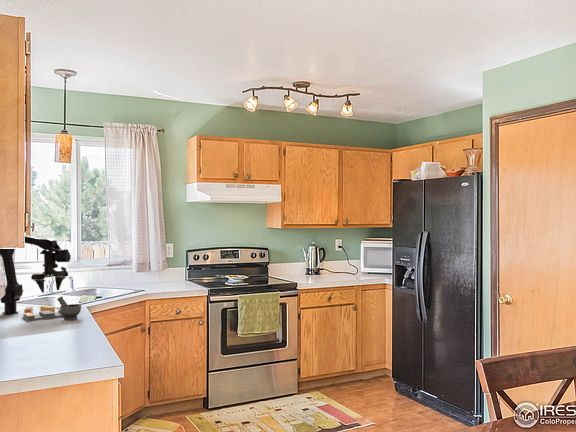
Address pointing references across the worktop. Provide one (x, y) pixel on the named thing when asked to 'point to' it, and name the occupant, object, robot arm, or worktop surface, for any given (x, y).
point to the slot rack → (42, 315)
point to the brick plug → (28, 310)
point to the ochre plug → (47, 308)
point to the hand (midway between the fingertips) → (50, 291)
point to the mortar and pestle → (69, 310)
